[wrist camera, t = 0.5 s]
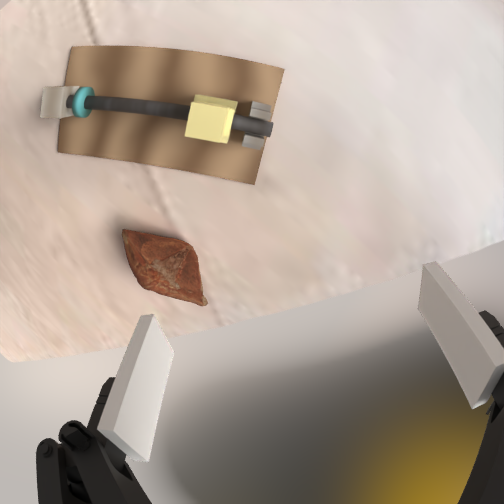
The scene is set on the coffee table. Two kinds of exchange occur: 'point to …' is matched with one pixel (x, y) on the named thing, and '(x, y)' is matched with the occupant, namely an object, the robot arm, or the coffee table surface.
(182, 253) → the fossil
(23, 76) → the coffee table surface
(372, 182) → the coffee table surface
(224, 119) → the yellow sliding block
